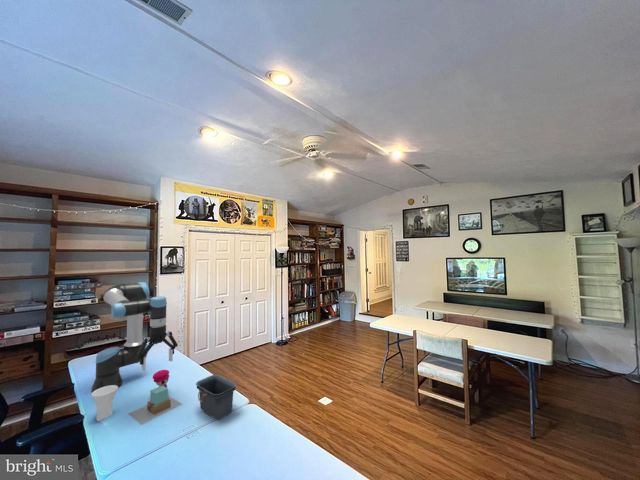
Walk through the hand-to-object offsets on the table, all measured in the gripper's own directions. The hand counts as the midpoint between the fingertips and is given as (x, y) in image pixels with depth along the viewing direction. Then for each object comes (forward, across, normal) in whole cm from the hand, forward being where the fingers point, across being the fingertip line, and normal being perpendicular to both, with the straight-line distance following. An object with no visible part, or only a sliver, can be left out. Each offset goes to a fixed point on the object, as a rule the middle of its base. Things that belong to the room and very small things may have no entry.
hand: (157, 365), depth 140 cm
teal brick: (+18, 0, -2) cm, 18 cm away
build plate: (+23, -1, -1) cm, 23 cm away
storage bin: (+23, +15, -29) cm, 40 cm away
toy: (+24, +7, +11) cm, 27 cm away
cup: (+24, -18, +16) cm, 34 cm away
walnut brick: (+22, 0, -2) cm, 22 cm away
